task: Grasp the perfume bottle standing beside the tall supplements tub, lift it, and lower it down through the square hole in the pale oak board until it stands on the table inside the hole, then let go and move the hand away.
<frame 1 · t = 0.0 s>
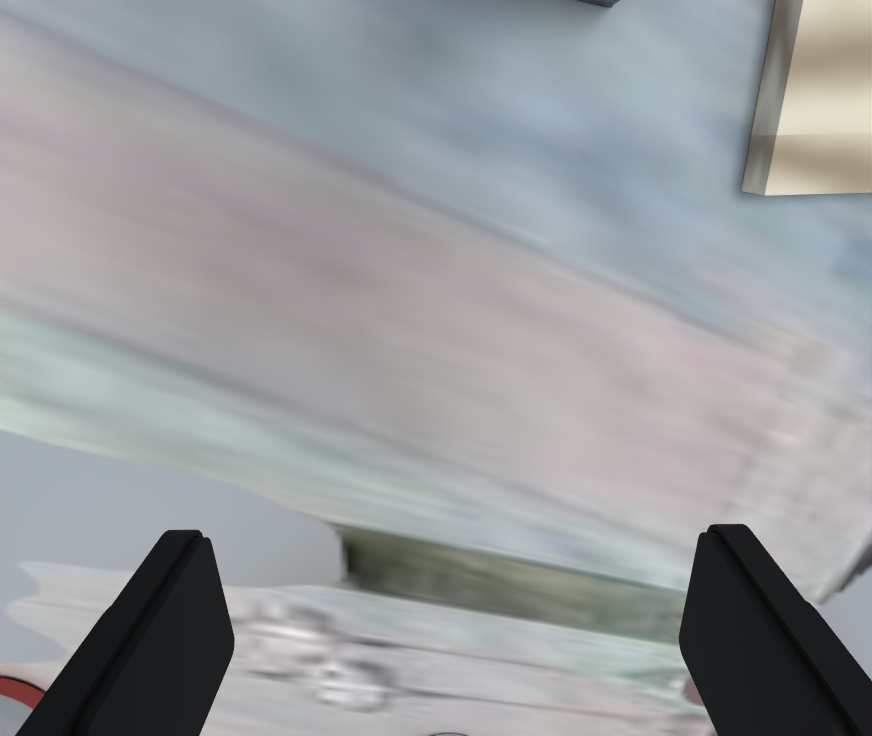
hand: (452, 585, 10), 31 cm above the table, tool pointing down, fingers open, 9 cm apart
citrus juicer: (13, 703, 60), on the table
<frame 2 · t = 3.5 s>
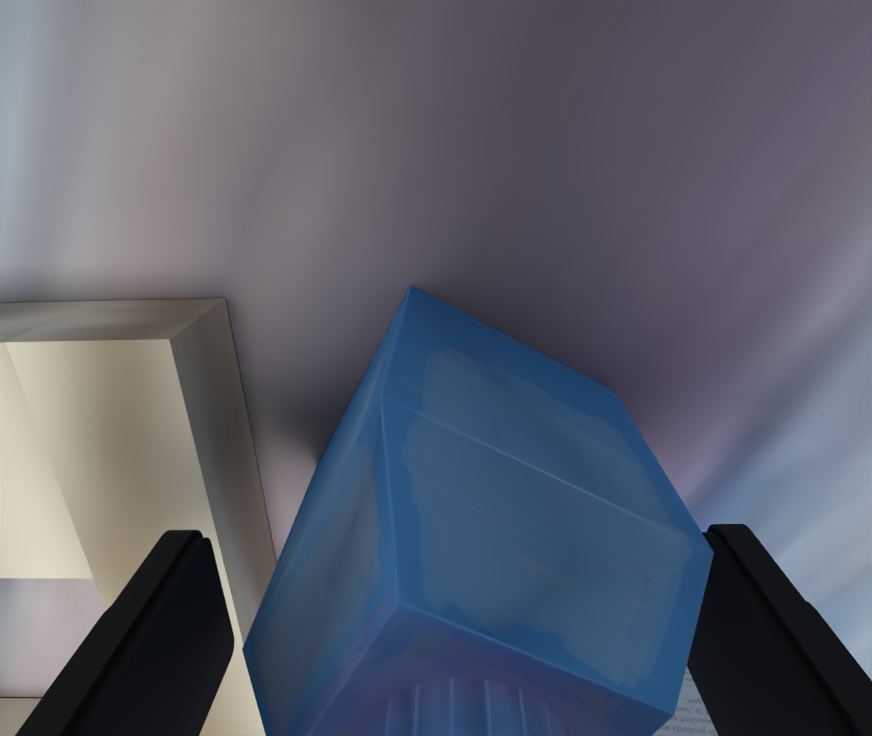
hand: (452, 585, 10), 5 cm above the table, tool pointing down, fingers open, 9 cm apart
supplement box: (604, 703, 20), on the table
perfume bottle: (459, 425, 16), on the table
hole board: (56, 611, 19), on the table
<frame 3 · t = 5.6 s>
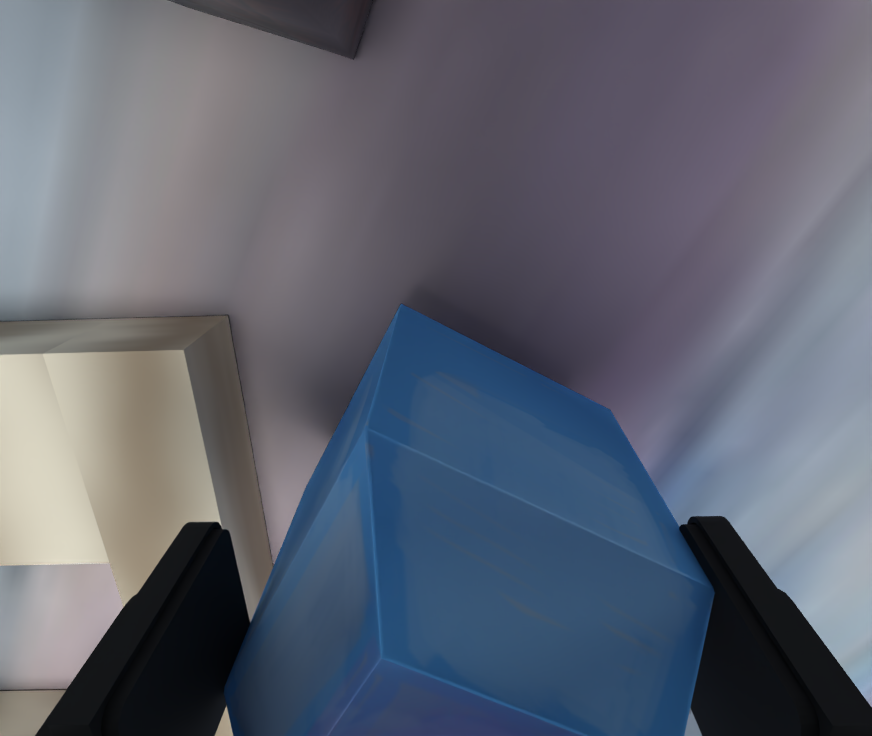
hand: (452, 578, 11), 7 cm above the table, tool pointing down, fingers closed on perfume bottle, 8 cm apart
perfume bottle: (451, 446, 15), point 2 cm above the table, touching gripper
hole board: (66, 604, 20), on the table
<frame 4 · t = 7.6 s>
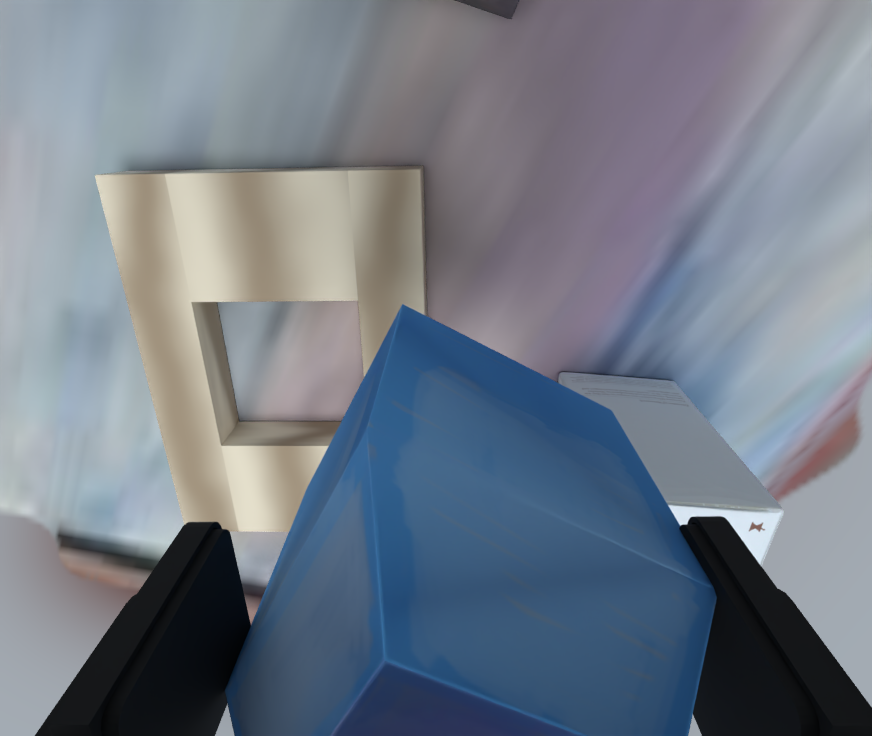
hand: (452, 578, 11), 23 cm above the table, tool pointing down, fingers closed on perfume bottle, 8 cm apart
supplement box: (603, 424, 35), on the table
perfume bottle: (453, 446, 15), point 18 cm above the table, touching gripper
hole board: (299, 357, 33), on the table
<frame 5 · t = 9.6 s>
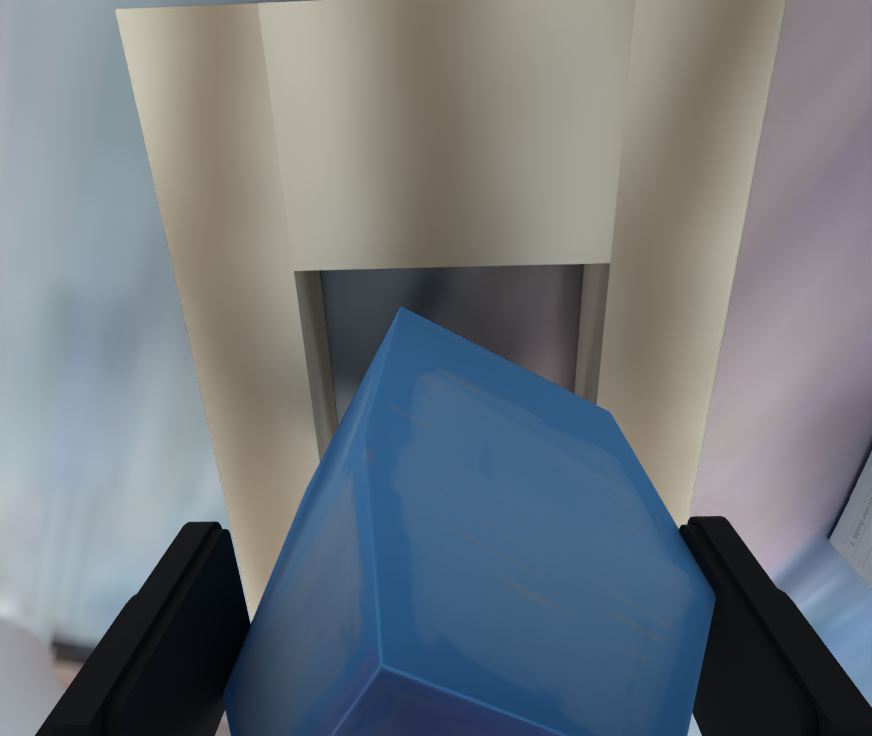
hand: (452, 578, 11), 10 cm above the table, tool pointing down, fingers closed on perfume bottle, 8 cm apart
perfume bottle: (451, 448, 15), point 5 cm above the table, touching gripper
hole board: (452, 370, 20), on the table
when the fingers open (6 cm above the table, at t = 11.2 s): perfume bottle drops 1 cm, resting in hole board.
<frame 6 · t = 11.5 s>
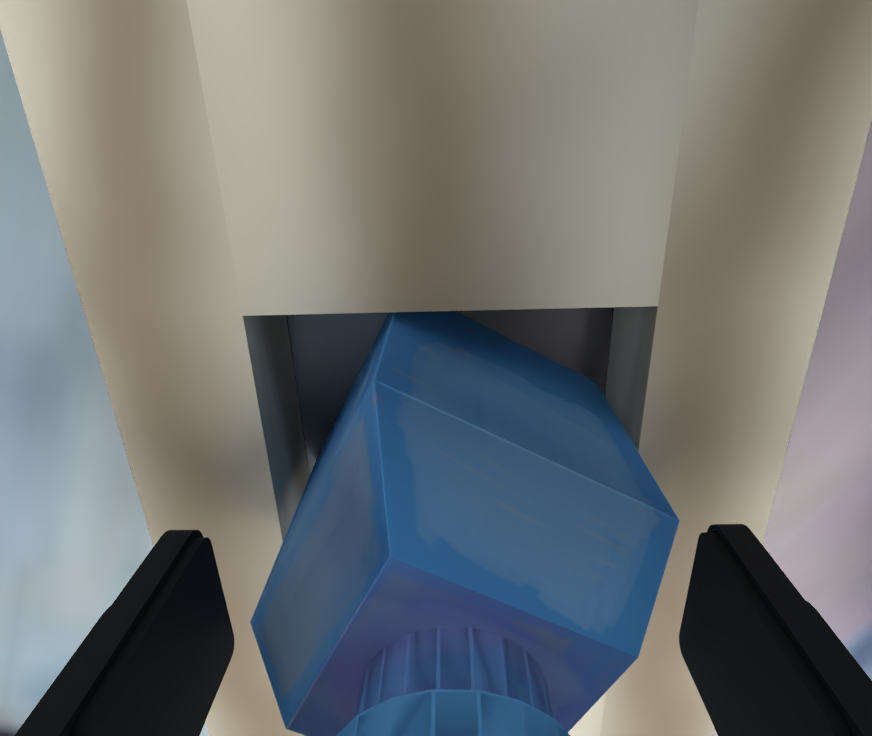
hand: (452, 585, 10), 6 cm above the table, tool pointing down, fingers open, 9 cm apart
perfume bottle: (451, 418, 16), resting in hole board
hole board: (451, 425, 16), on the table
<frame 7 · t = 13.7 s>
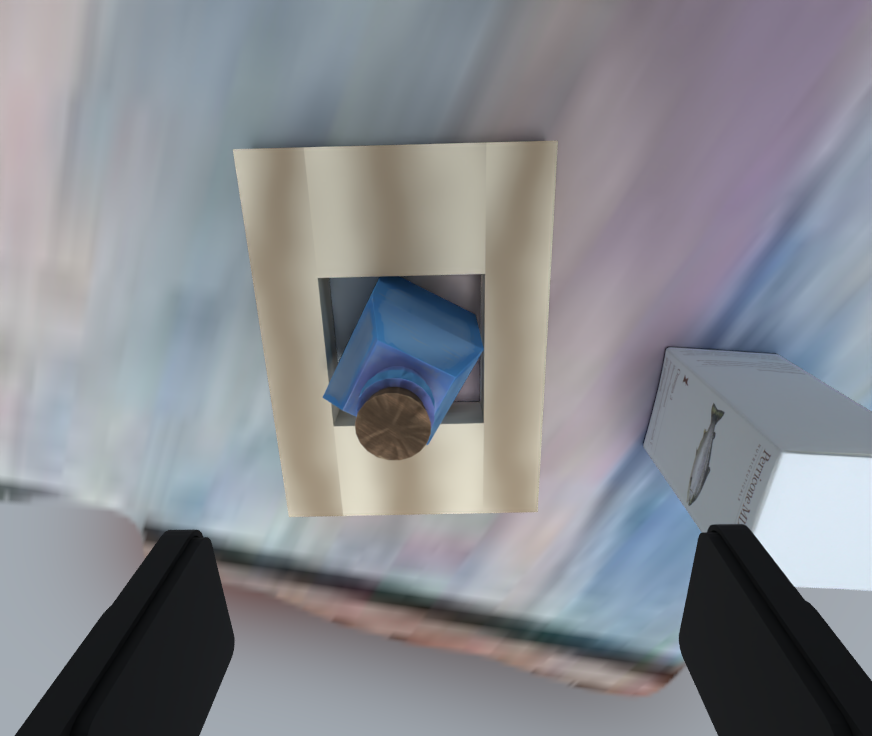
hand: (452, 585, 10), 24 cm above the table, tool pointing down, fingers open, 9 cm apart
supplement box: (704, 400, 35), on the table
perfume bottle: (407, 334, 34), resting in hole board
hole board: (407, 337, 34), on the table
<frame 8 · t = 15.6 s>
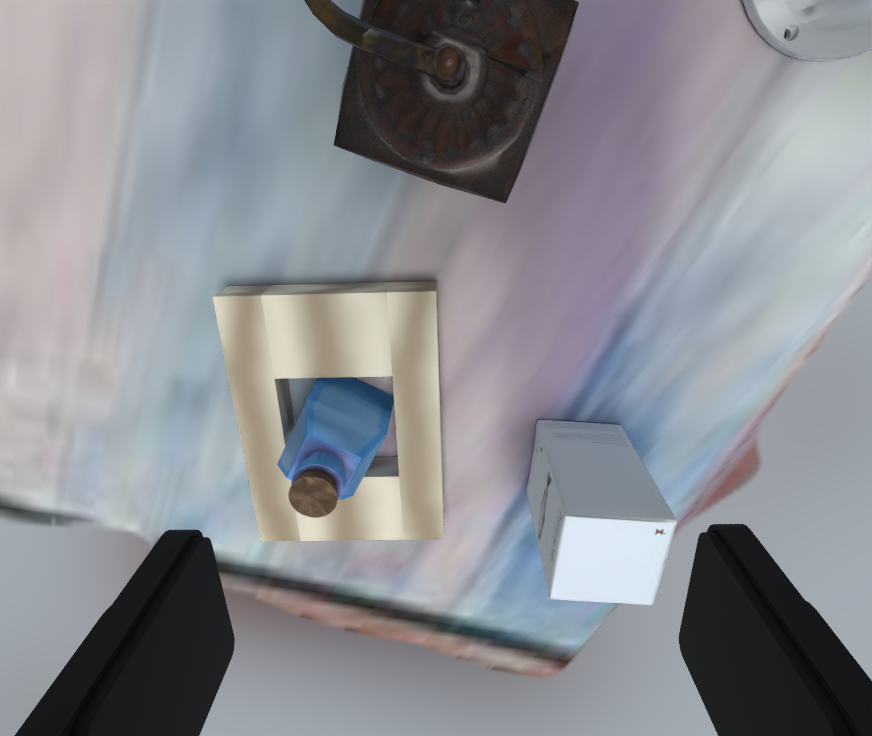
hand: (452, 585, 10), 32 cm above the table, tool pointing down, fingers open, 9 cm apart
supplement box: (571, 456, 47), on the table
coffee grinder: (415, 72, 36), on the table
perfume bottle: (346, 409, 46), resting in hole board
hole board: (345, 411, 46), on the table
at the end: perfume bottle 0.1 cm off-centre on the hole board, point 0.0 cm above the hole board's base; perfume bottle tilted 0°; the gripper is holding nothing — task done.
